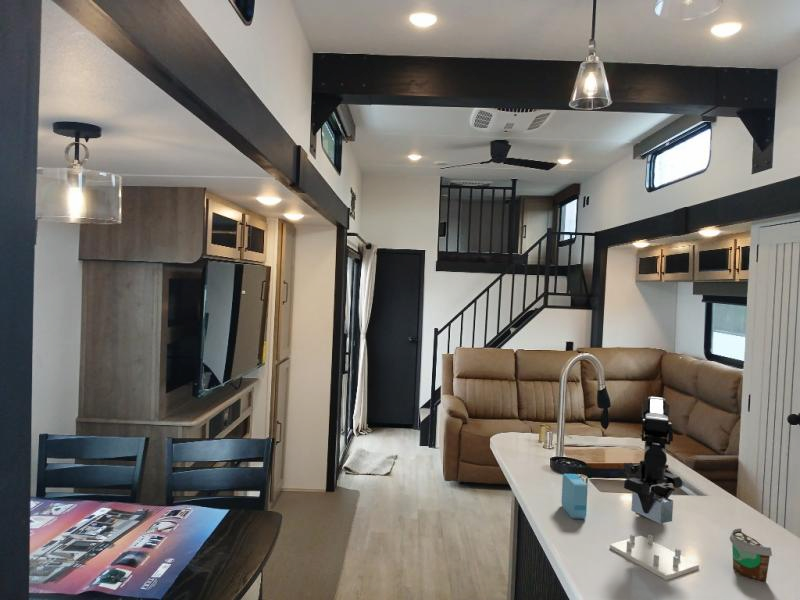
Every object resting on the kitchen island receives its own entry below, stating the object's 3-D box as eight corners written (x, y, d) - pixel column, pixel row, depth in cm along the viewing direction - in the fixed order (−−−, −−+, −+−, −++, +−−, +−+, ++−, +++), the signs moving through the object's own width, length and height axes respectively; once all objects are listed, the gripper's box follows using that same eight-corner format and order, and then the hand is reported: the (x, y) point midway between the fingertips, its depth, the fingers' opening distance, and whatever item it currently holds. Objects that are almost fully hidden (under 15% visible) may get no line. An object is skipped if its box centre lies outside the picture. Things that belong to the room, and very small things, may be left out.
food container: (718, 561, 158) (720, 527, 158) (737, 561, 158) (739, 527, 158) (748, 585, 146) (750, 548, 145) (770, 584, 146) (772, 548, 146)
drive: (642, 508, 166) (643, 488, 166) (672, 521, 157) (673, 499, 157) (631, 510, 164) (632, 489, 164) (660, 523, 155) (661, 502, 155)
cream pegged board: (641, 539, 170) (641, 527, 170) (698, 568, 153) (699, 556, 153) (609, 548, 163) (610, 536, 163) (666, 580, 147) (667, 566, 146)
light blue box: (586, 520, 182) (587, 485, 182) (573, 520, 182) (574, 484, 182) (573, 505, 194) (575, 472, 194) (561, 505, 194) (562, 472, 194)
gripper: (651, 448, 172) (649, 497, 172) (610, 454, 163) (607, 506, 163) (684, 459, 162) (681, 511, 162) (642, 465, 153) (639, 520, 153)
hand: (651, 511), depth 160 cm, fingers closed on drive, 5 cm apart
